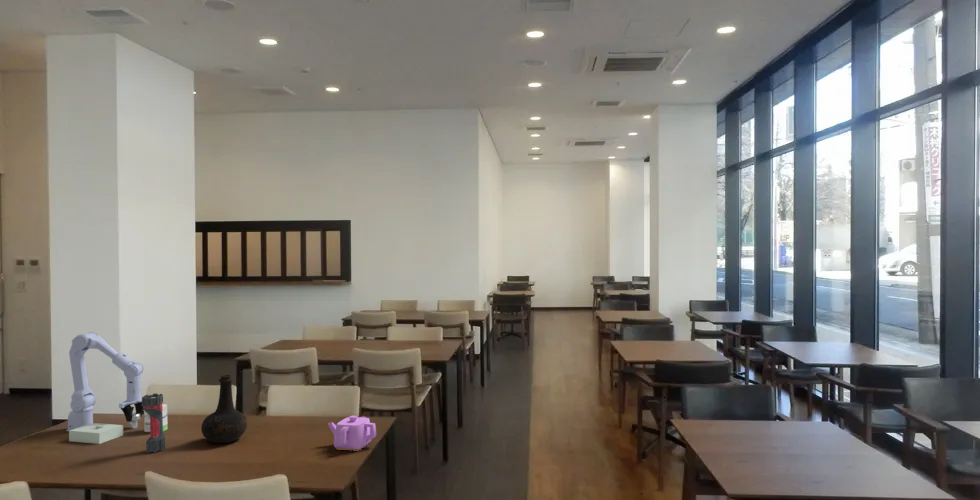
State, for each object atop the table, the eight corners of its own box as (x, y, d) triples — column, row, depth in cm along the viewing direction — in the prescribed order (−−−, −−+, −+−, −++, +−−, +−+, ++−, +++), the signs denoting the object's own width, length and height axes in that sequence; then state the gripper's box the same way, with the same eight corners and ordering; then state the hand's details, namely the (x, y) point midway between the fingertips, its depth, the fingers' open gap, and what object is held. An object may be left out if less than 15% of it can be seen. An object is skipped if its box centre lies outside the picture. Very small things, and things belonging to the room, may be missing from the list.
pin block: (69, 441, 256) (69, 430, 256) (93, 432, 268) (93, 422, 268) (99, 443, 253) (99, 433, 253) (123, 435, 264) (123, 425, 264)
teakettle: (340, 455, 237) (340, 424, 237) (326, 444, 251) (326, 414, 251) (380, 447, 247) (380, 417, 247) (364, 437, 261) (364, 408, 261)
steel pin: (125, 429, 273) (125, 415, 273) (133, 426, 278) (133, 412, 278) (134, 430, 272) (134, 415, 272) (142, 427, 277) (142, 413, 277)
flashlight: (139, 455, 238) (139, 398, 238) (145, 449, 245) (145, 393, 245) (161, 453, 240) (161, 396, 240) (166, 447, 247) (166, 392, 247)
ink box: (168, 429, 272) (168, 403, 272) (160, 432, 268) (160, 406, 268) (151, 428, 274) (151, 403, 274) (143, 431, 269) (143, 405, 269)
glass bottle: (192, 443, 253) (192, 377, 253) (228, 432, 269) (228, 369, 269) (220, 449, 244) (220, 381, 245) (256, 437, 260) (256, 373, 260)
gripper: (128, 394, 267) (128, 424, 267) (153, 387, 281) (153, 416, 281) (115, 393, 269) (115, 423, 269) (141, 386, 283) (141, 415, 283)
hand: (134, 419), depth 275 cm, fingers closed on steel pin, 5 cm apart
